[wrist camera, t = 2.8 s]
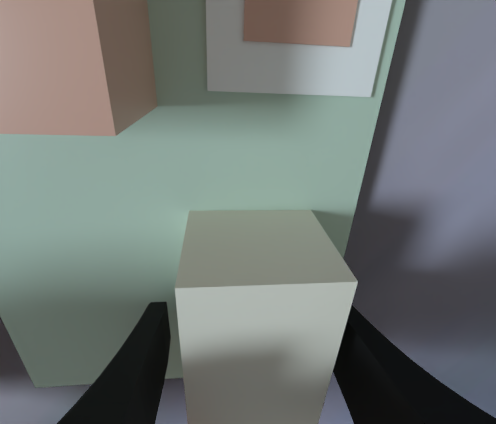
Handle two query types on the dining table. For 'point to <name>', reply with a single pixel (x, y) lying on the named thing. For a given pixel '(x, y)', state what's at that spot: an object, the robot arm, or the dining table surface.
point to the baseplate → (166, 149)
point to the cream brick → (259, 315)
